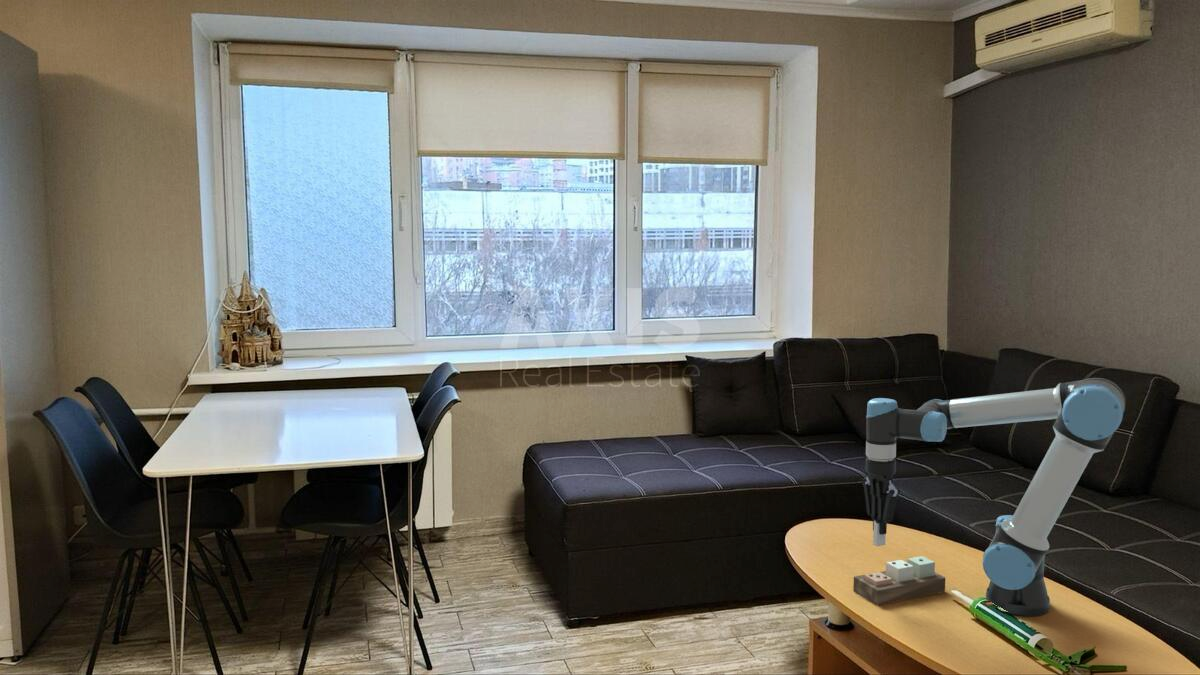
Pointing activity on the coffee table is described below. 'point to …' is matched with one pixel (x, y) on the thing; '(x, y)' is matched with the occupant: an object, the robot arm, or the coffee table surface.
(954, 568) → the coffee table surface
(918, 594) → the board
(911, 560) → the tile one
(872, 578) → the tile three
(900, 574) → the tile two
